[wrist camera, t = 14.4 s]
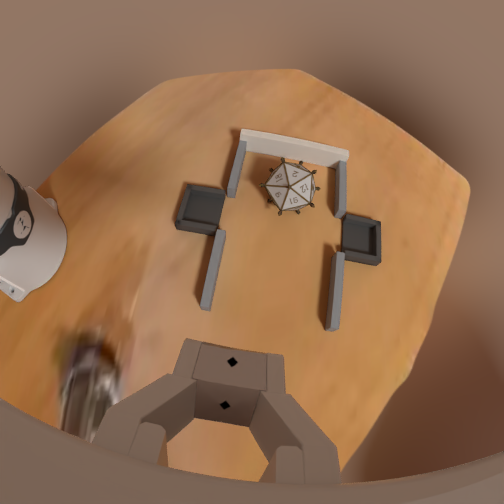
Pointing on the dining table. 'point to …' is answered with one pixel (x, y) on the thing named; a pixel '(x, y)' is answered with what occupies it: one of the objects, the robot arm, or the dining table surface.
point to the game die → (290, 186)
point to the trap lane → (354, 227)
